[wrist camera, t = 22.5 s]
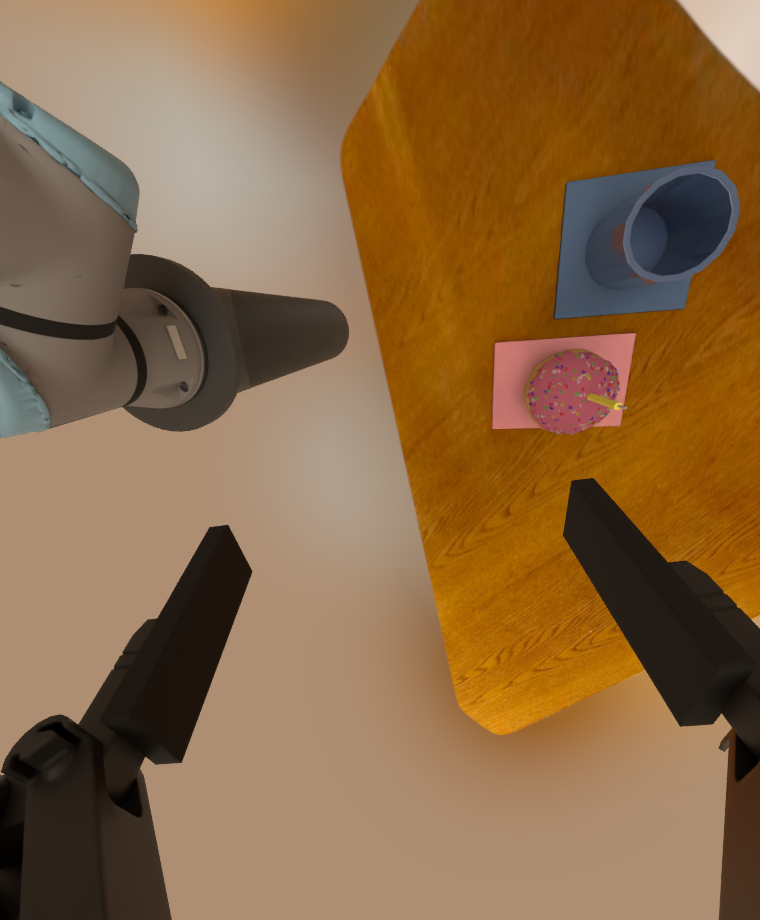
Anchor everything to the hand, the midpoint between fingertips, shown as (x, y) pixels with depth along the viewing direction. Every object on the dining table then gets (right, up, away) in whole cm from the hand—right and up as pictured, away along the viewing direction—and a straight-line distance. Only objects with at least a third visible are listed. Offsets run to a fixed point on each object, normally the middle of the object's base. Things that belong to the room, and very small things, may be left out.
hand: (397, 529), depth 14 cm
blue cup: (+23, +23, +21) cm, 39 cm away
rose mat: (+19, +11, +27) cm, 35 cm away
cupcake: (+19, +11, +26) cm, 35 cm away
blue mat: (+23, +23, +21) cm, 39 cm away
